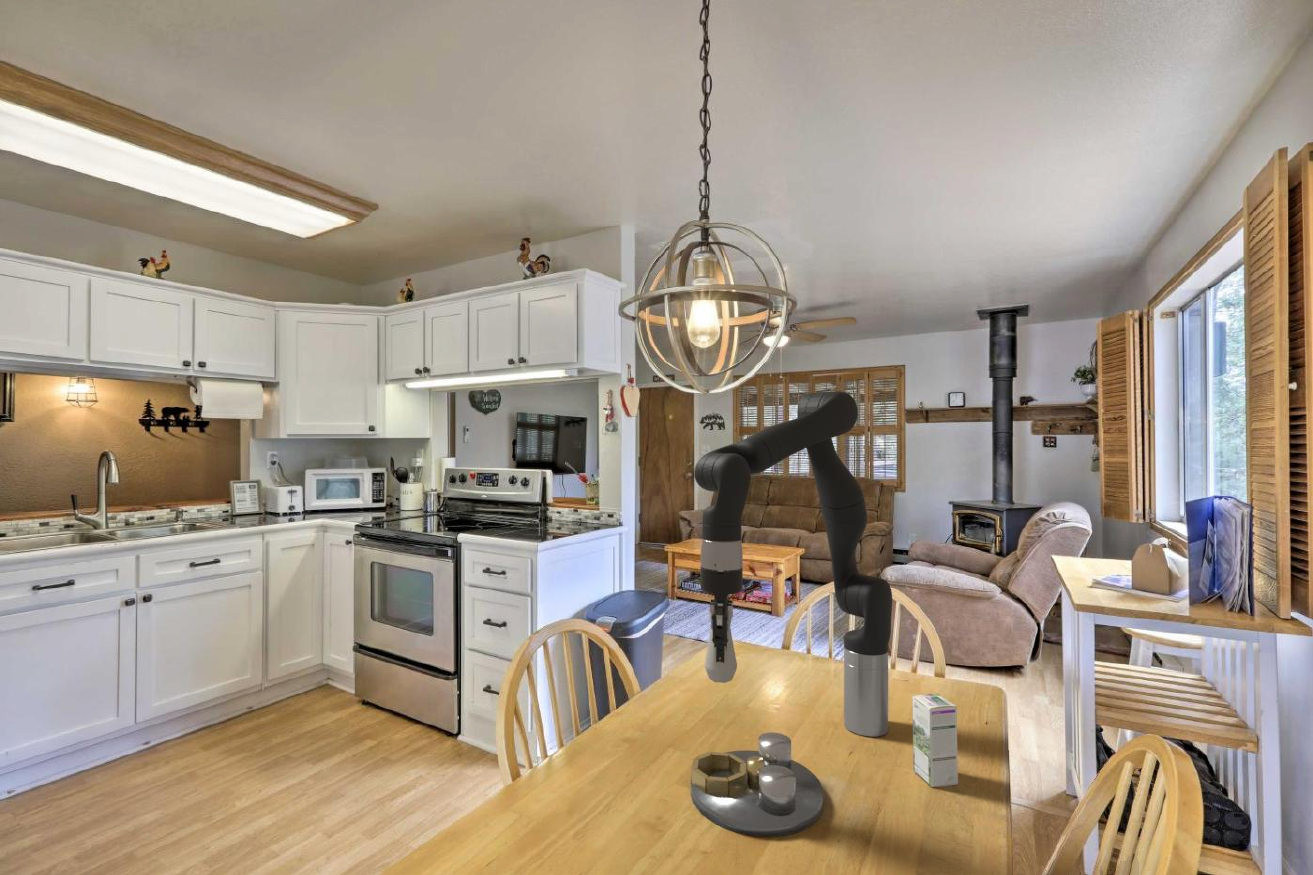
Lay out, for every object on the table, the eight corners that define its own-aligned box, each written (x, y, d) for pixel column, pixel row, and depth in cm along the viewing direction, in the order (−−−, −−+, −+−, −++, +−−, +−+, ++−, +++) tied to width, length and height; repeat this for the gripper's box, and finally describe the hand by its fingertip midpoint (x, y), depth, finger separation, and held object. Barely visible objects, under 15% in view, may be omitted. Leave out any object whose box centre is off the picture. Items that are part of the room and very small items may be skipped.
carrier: (697, 756, 120) (697, 720, 120) (815, 766, 116) (816, 729, 116) (683, 828, 97) (683, 784, 97) (831, 844, 93) (831, 798, 94)
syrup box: (959, 785, 110) (959, 705, 110) (929, 788, 109) (929, 707, 109) (939, 768, 115) (939, 692, 116) (911, 771, 115) (911, 694, 115)
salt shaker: (734, 672, 111) (734, 601, 111) (739, 684, 105) (740, 609, 105) (702, 672, 110) (703, 601, 111) (706, 684, 105) (707, 609, 105)
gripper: (703, 556, 116) (702, 647, 115) (697, 571, 102) (696, 674, 101) (743, 558, 114) (742, 649, 114) (742, 573, 101) (741, 677, 100)
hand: (720, 660), depth 108 cm, fingers closed on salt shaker, 3 cm apart
